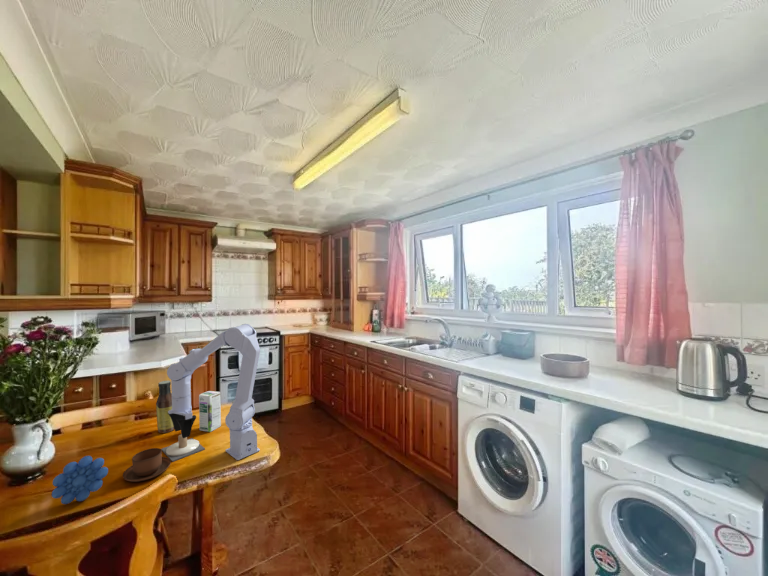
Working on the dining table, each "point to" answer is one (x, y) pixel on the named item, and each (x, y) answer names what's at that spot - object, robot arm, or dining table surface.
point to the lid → (182, 446)
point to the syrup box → (209, 411)
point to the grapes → (79, 479)
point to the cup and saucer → (146, 465)
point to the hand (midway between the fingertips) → (182, 433)
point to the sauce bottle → (164, 407)
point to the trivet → (174, 458)
